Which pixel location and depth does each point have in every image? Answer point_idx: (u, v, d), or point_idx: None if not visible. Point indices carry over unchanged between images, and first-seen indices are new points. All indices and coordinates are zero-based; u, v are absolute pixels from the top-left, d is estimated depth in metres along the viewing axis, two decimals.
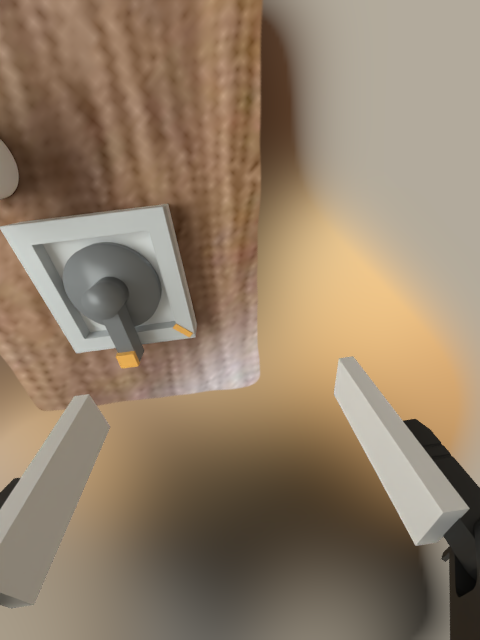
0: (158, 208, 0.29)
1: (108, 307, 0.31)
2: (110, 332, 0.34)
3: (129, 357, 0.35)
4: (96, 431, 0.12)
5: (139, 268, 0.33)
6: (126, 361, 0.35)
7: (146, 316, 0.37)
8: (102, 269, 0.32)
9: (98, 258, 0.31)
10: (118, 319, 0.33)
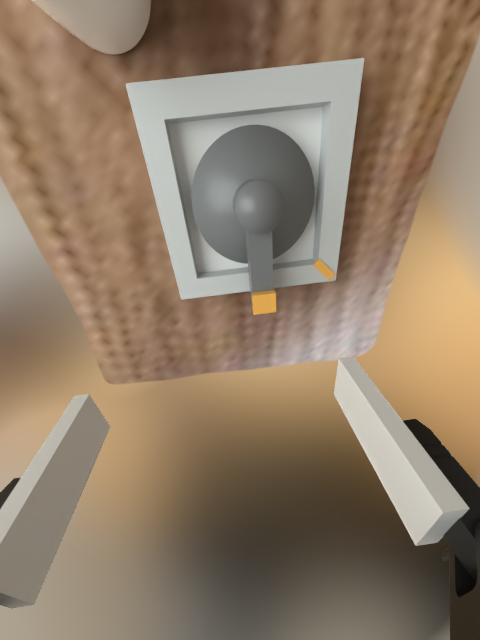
0: (358, 60, 0.20)
1: (270, 213, 0.21)
2: (252, 259, 0.24)
3: (269, 298, 0.26)
4: (96, 431, 0.12)
5: (299, 167, 0.23)
6: (263, 304, 0.26)
7: (285, 246, 0.27)
8: (249, 166, 0.23)
9: (250, 147, 0.22)
10: (269, 239, 0.23)
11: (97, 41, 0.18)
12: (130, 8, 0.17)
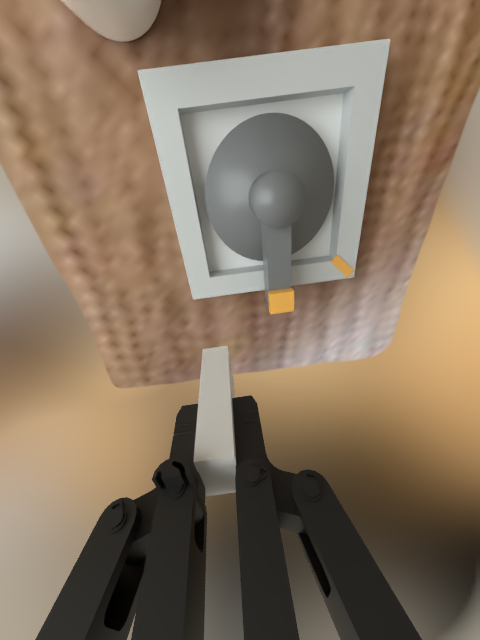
0: (383, 41, 0.18)
1: (290, 206, 0.20)
2: (270, 256, 0.23)
3: (287, 296, 0.25)
4: None
5: (319, 158, 0.22)
6: (280, 303, 0.25)
7: (301, 242, 0.26)
8: (266, 157, 0.22)
9: (267, 136, 0.21)
10: (288, 233, 0.22)
11: (107, 25, 0.17)
12: None
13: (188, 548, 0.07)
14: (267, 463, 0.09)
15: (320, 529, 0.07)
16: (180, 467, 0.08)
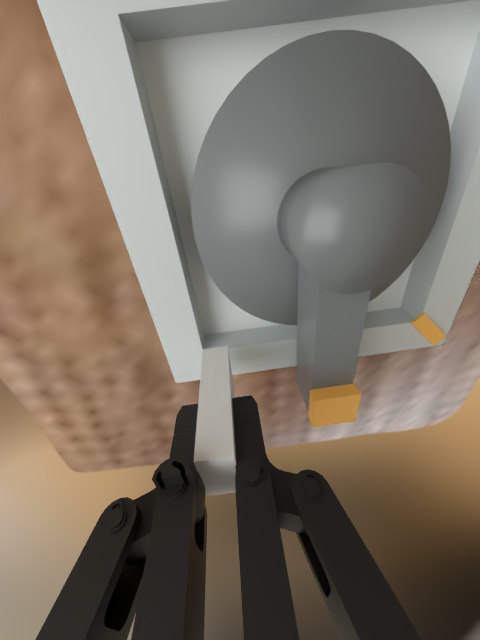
0: None
1: (386, 248, 0.09)
2: (321, 336, 0.12)
3: (346, 402, 0.13)
4: None
5: (426, 140, 0.11)
6: (333, 411, 0.14)
7: None
8: (319, 138, 0.10)
9: (326, 90, 0.10)
10: (363, 297, 0.11)
11: None
12: None
13: (188, 548, 0.07)
14: (267, 463, 0.09)
15: (320, 529, 0.07)
16: (180, 467, 0.08)
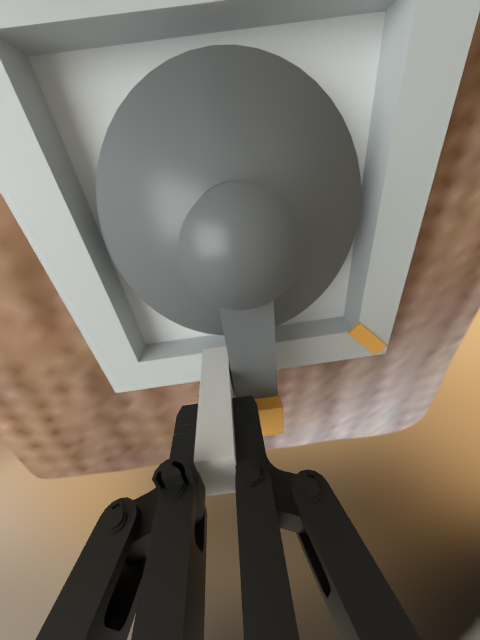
0: None
1: (268, 265, 0.08)
2: (233, 350, 0.11)
3: (269, 414, 0.13)
4: None
5: (331, 153, 0.11)
6: None
7: (297, 305, 0.15)
8: (220, 152, 0.10)
9: (218, 104, 0.09)
10: (268, 311, 0.11)
11: None
12: None
13: (188, 548, 0.07)
14: (267, 463, 0.09)
15: (320, 529, 0.07)
16: (180, 467, 0.08)
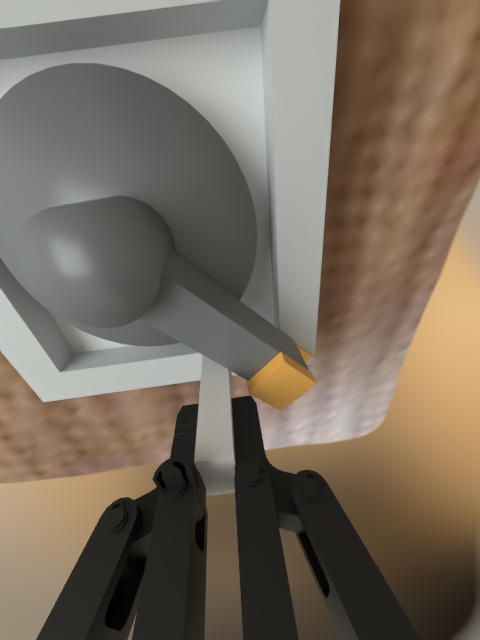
0: None
1: (116, 265, 0.08)
2: (193, 343, 0.11)
3: (281, 376, 0.12)
4: None
5: (124, 102, 0.09)
6: (281, 389, 0.12)
7: (245, 254, 0.13)
8: (59, 200, 0.11)
9: (24, 171, 0.10)
10: (181, 293, 0.10)
11: None
12: None
13: (189, 548, 0.07)
14: (266, 463, 0.09)
15: (319, 529, 0.07)
16: (181, 467, 0.08)
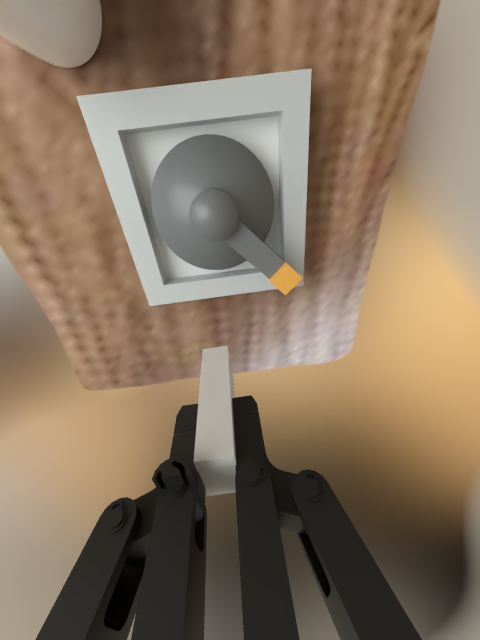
0: (305, 71, 0.20)
1: (224, 212, 0.21)
2: (245, 255, 0.24)
3: (285, 272, 0.25)
4: None
5: (222, 148, 0.22)
6: (285, 281, 0.25)
7: (268, 217, 0.26)
8: (186, 189, 0.24)
9: (174, 176, 0.23)
10: (243, 228, 0.23)
11: (46, 56, 0.19)
12: (73, 24, 0.17)
13: (188, 548, 0.07)
14: (267, 463, 0.09)
15: (320, 529, 0.07)
16: (180, 467, 0.08)
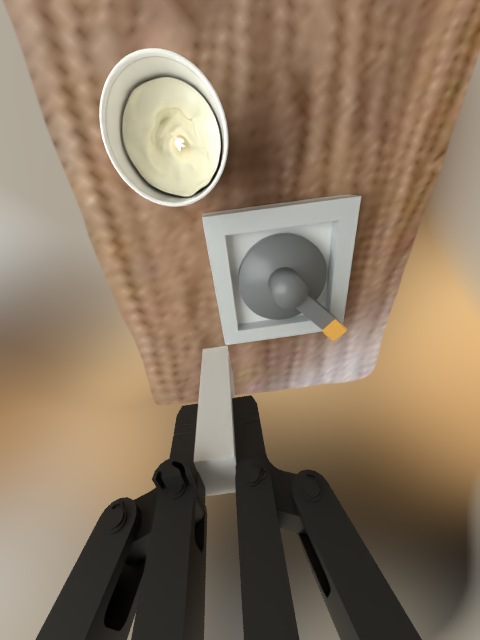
0: (356, 197, 0.29)
1: (298, 291, 0.30)
2: (307, 315, 0.33)
3: (335, 326, 0.34)
4: None
5: (294, 243, 0.32)
6: (335, 332, 0.34)
7: (321, 284, 0.35)
8: (265, 268, 0.33)
9: (259, 261, 0.32)
10: (308, 298, 0.32)
11: None
12: None
13: (188, 548, 0.07)
14: (267, 463, 0.09)
15: (320, 529, 0.07)
16: (180, 467, 0.08)
